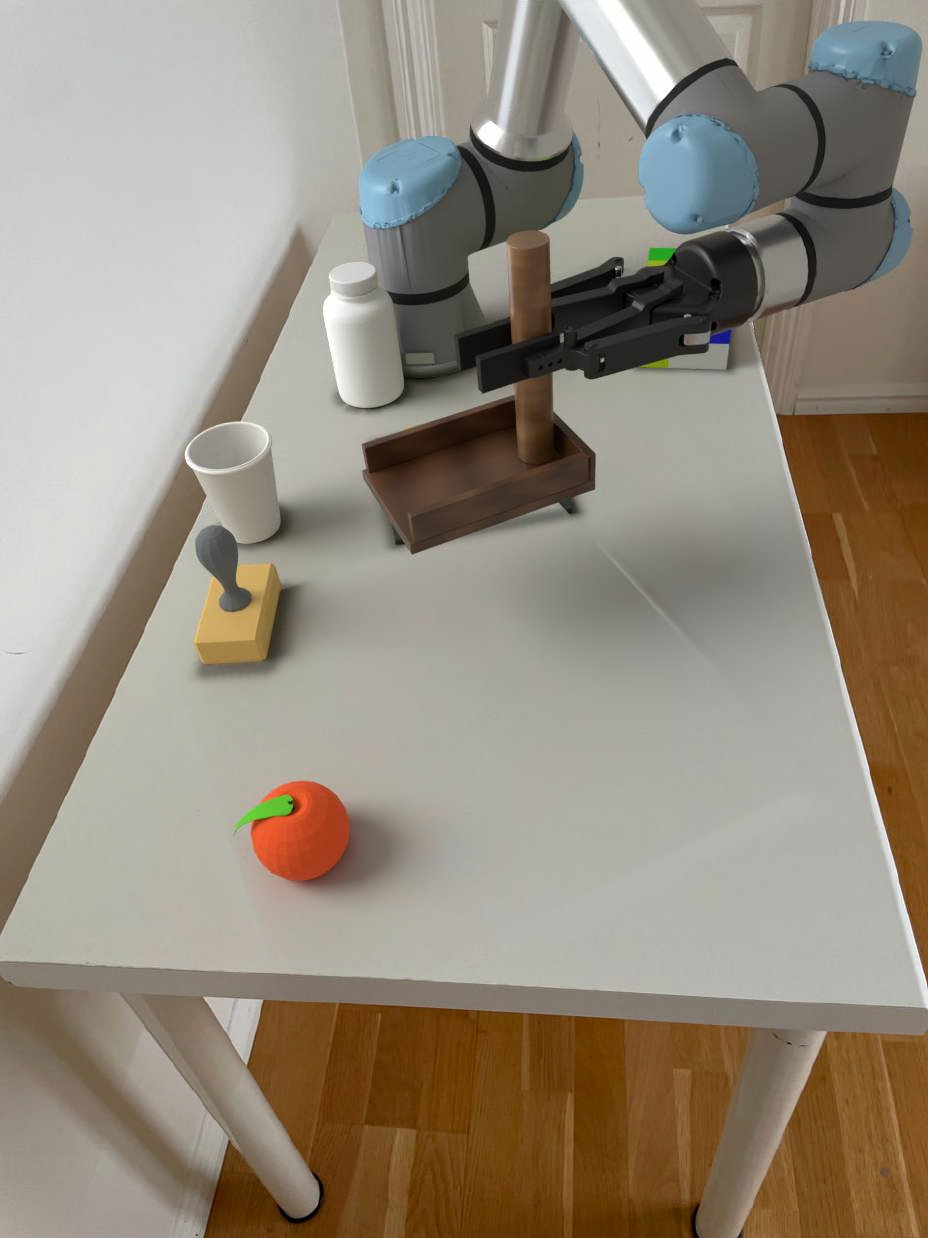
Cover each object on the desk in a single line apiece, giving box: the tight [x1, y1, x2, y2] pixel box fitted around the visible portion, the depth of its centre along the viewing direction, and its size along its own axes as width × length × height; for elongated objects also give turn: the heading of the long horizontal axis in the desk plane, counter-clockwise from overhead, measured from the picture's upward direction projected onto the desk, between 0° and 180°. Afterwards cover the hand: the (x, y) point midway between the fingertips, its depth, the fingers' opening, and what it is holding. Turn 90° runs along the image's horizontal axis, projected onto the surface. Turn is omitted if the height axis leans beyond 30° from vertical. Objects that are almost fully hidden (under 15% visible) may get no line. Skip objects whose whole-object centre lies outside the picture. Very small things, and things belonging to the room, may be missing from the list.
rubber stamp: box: [193, 524, 283, 665], centre depth 82 cm, size 10×6×12 cm, turn 0°
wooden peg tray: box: [361, 230, 597, 556], centre depth 70 cm, size 16×11×19 cm
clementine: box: [233, 780, 350, 882], centre depth 66 cm, size 8×7×7 cm
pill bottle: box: [322, 261, 405, 409], centre depth 108 cm, size 8×8×15 cm
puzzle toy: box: [639, 247, 732, 371], centre depth 111 cm, size 10×10×10 cm
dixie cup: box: [184, 421, 282, 545], centre depth 93 cm, size 8×8×10 cm
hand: (468, 363), depth 69 cm, fingers closed on wooden peg tray, 3 cm apart
